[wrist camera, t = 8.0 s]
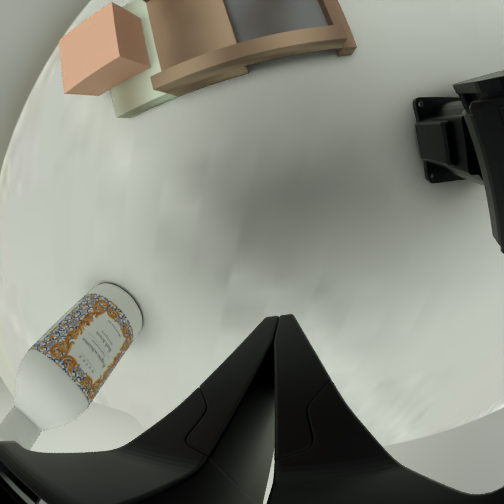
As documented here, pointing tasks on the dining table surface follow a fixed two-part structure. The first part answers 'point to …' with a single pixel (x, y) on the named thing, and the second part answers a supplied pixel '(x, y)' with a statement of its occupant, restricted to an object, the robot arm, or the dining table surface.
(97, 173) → the dining table surface
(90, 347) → the bath foam
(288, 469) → the robot arm
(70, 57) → the block
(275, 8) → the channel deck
